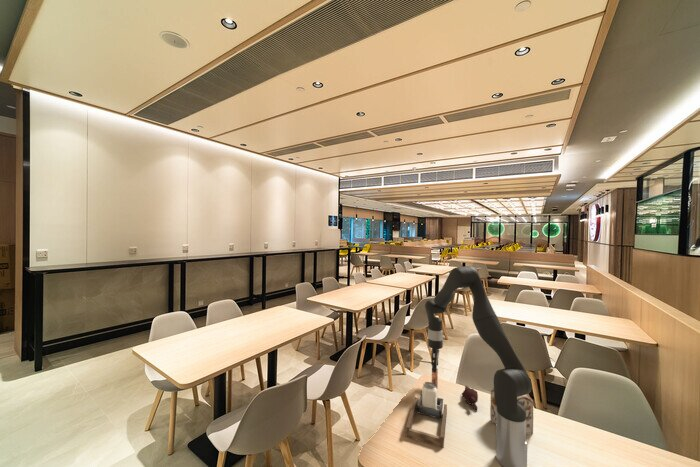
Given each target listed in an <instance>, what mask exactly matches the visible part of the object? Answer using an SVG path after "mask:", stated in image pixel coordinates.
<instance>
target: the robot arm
mask: <svg viewBox="0 0 700 467" xmlns="http://www.w3.org/2000/svg"><path fill="white" fill-rule="evenodd" d="M465 288H469V290H470V292H471V295H472V297H473V304H472V314H471V319H472V321H473V325H474V326H475V328H476V331H477V334H478V335H479V336H480V338H481V339H482V340H483V341H484V342H485V344H487V345H488V346H489V347H490V348H491V349H492V350H493V351H494V352H495V353H496V355H497V356H498V358H499V359H500V362H502V365H503V367H504V368H502V369H501V368H500V369H498V370H496V371H495V372H494V375H493V388H494V399H495V403H496V406H497V422H496V424H495V428H496V429H495V431H496V433H495V434H496V435H495V438H496V439H495V453H496V454H495V457H496V460H497V461H498V463H499V464H500V465H501V466H502V467H528V442H527V435H526V410H525V408H524V407H523V406H522V405H520V404H519V403H517V397H519V396H523V395H526V394H528V395H530V393H531V392H532V389H533V384H532V381H531V380H532V379H531V377H530V376H529V374H528V372H527V370H526V369H525V367H524V365H523V363H522V362H521V360H520V358H519V357H518V355H517V354H516V352H515V350H514V348H513V346H512V344H511V343H510V341H509V339H508V337H507V334H506V333H505V330H504V328H503V327H502V324H501V322H500V320H499V318H498V315H497V314H496V311H495V310H494V308H493V305H492V303H491V302H490V299H489V297H488V295H487V293H486V290H485V287H484V285H483V282H482V278H481V276H480V274H479V272H478V271H477V269H476V268H475V267H474V266H473V265H468V266H467V265H466V266H457V267H453V268H452V269H451V270H450V272H449V274H448V275H447V278H446V280H445V282H444V284H443V286H442V288H441V289H440V290H439V291H438V293H437V294H435V296H434V299H429V300H426V302H425V304H424V308H425V312H426V316H427V320H428V329H427V330H428V331H427V346H428V348H430V349H431V351H430V356H431V357H430V359H431V363H430V364H431V373H432V372H435V373H436V372H437V369H438V367H437V366H439V358H440V350H441V349H442V348H443V347H444V346H443V345H444V340H443V336H444V335H443V334H444V333H443V319H442V318H440V317H437V316H435V314H443V313H445V312H446V311H447V307H448V305H449V304H450V303H451V302H452V301H453V299H454V297H455V291H456V290H458V289H465Z"/></svg>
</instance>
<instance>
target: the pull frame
mask: <svg viewBox="0 0 700 467" xmlns="http://www.w3.org/2000/svg"><path fill="white" fill-rule="evenodd" d="M438 370H439V369H438V368H437V372H436V373H435V372H432V371H431V383H434V384H435V385H436V389H437V390H438V383H439V382H438V378H439V377H438V374H439V372H438ZM437 406H439V409H438V408H437V409H433V408H428V407H425V406H422V393H420V395H419V400H418V405H417V410H416V413H417V414H421V415H425V416H429V417H433V418H437V419H441V420H442V418H443V410H444V399H443V398H441V397H437Z"/></svg>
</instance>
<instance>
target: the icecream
mask: <svg viewBox="0 0 700 467" xmlns="http://www.w3.org/2000/svg"><path fill="white" fill-rule="evenodd" d="M461 396H462V398H463V399H464V400H465V402H466V403H467V404H470V405H471V406H472V407H473V409H474V411H475V412H476V411H478V406H477V404H476V403H478V399H479V394H478V391H477V390H475V389H474V388H470V387H469V386H468V385H465V386H464V390H463V392H462V393H461Z"/></svg>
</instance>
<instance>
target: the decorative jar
mask: <svg viewBox="0 0 700 467" xmlns="http://www.w3.org/2000/svg"><path fill="white" fill-rule="evenodd" d="M517 403H519V404H520V405H522V406H523V407H524V408H525V410H526V436H528V435H532V434H534V401H533V398H532V397H531V396H530V394H526V395H523V396H519V397H517ZM489 407H490V410H489V411H490V412H489V414H490V415H489V416H490V420H491V422H492V423H494V424H495V425H496V422H497V406H496V403H495V399H494V387H492V388H491V389H490V406H489Z"/></svg>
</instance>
